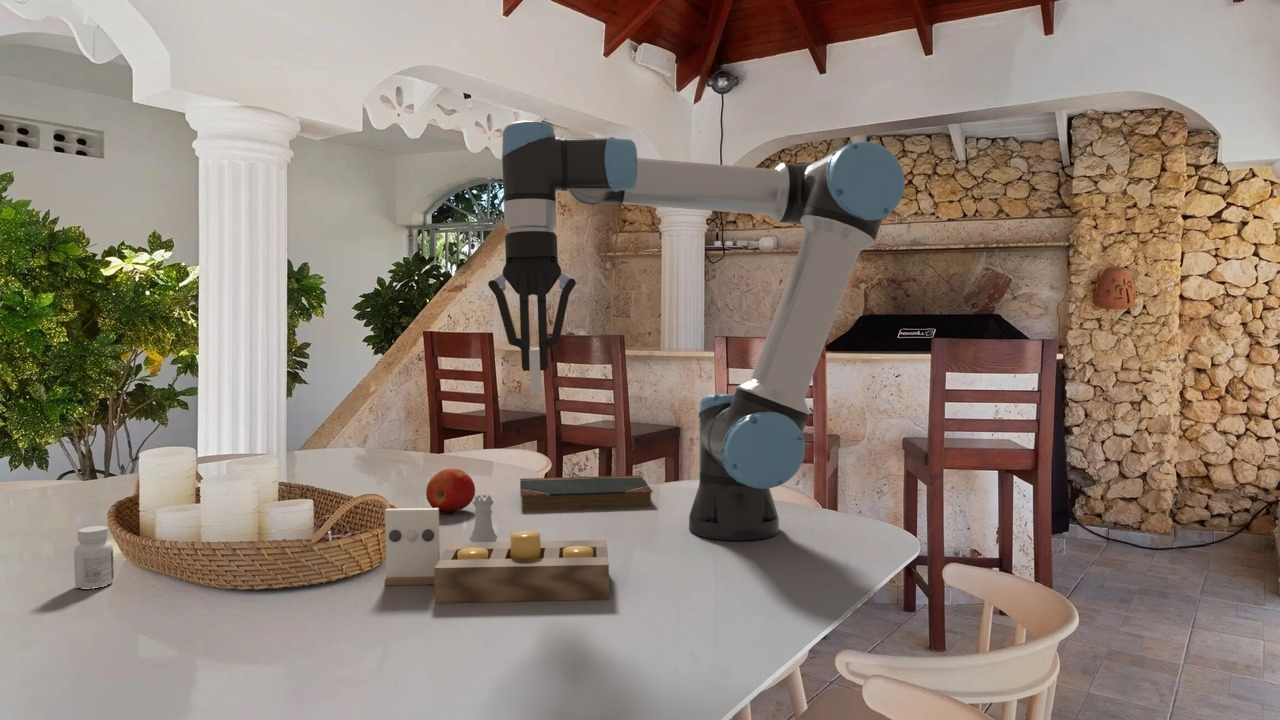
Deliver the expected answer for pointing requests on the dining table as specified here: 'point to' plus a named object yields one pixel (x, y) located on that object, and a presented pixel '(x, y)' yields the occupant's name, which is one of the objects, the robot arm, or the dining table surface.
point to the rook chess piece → (483, 520)
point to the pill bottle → (93, 558)
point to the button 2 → (577, 552)
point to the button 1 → (472, 553)
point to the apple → (450, 490)
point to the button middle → (525, 545)
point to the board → (522, 574)
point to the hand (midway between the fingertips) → (535, 393)
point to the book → (584, 492)
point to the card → (411, 545)
